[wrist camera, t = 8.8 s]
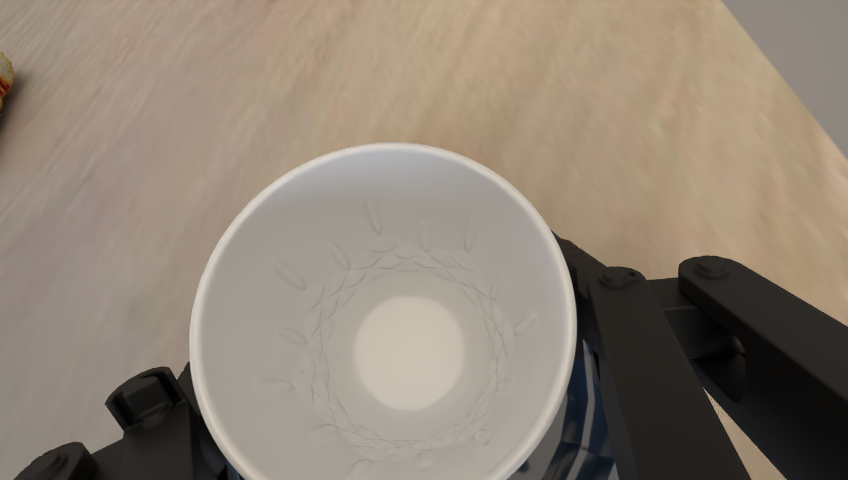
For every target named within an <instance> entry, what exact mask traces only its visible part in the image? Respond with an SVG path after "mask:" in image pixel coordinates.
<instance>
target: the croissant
mask: <svg viewBox="0 0 848 480" xmlns="http://www.w3.org/2000/svg"><path fill="white" fill-rule="evenodd" d="M13 75H14V71H13V67H12V64H11V62H10V61H9V60H8V59H7V58H6V56H5V55H4V53H3V52H1V51H0V110H1V108H2V98H3V97H5V96H6V95H7V94H8V93H9V92H10V90H11V86H12V82H13ZM0 116H1V114H0Z"/></svg>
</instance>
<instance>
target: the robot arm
mask: <svg viewBox="0 0 848 480" xmlns="http://www.w3.org/2000/svg"><path fill="white" fill-rule="evenodd" d="M555 239H556V241H557V243H558V245H559V247H560V249H561V251H562V254H563V256H564V259H565V261H566V264H567V267H568V270H569V274H570V277H571V281H572V286H573V290H574V296H575V303H576V314H577V340H576V350H575V357H574V360H576V359H579V358H583V357H584V346H583V340H584V341H585V342H586V343H587V344H588V345H589V346H590V347H591V348H592V353H593V365H594V378H595V385H598V387H599V391H600V396H601V400H602V405H603V409H604V414H605V418H606V423H607V428H608V432H609V437H610V441H611V446H612V450H613V455H614V460H615V464H616V469H617V473H618V478H619V480H751V478H750V476H749V474H748V472H747V470H746V469H745V467H744V465H743V463H742V461H741V459H740V457H739V455H738V453H737V451H736V450H735V448H734V446H733V444H732V442H731V440H730V438H729V436H728V434H727V432H726V431H725V429H724V427H723V425H722V423H721V421H720V419H719V417H718V415H717V413H716V412H715V410H714V408H713V406H712V404H711V402H710V400H709V398H708V396H707V394H706V393H705V391H704V389H705V390H706V391H707V392H708V393H709V394H710V395H711V396H712V398H713V399H714V400H715V401H716V402H717V403H718V404H719V405H720V406H721V407H722V409H723V410H724V411H725V412H726V413H727V414H728V415H729V416H730V417H731V419H732V420H733V421H734V422H735V423H736V424H737V425H738V426H739V427H740V428H741V430H742V431H743V432H744V433H745V434H746V435H747V436H748V437H749V438H750V439H751V441H752V442H753V443H754V444H755V445H756V446H757V447H758V448H759V449H760V451H761V452H762V453H763V454H764V455H765V456H766V457H767V458H768V459H769V460H770V462H771V463H772V464H773V465H774V466H775V467H776V468H777V469H778V470H779V471H780V473H781V474H782V475H783V476H784V477H785V478H786V479H787V480H848V327H847V326H846V325H844V324H842V323H841V322H839V321H837V320H835V319H834V318H832V317H830V316H829V315H827V314H825V313H824V312H822V311H820V310H818V309H817V308H815V307H813V306H812V305H810V304H808V303H807V302H805V301H803V300H801V299H800V298H798V297H796V296H795V295H793V294H791V293H790V292H788V291H786V290H785V289H783V288H781V287H779V286H778V285H776V284H774V283H773V282H771V281H769V280H768V279H766V278H764V277H762V276H761V275H759V274H757V273H756V272H754V271H752V270H751V269H749V268H747V267H745V266H744V265H742V264H740V263H738V262H736V261H733V260H731V259H727V258H722V257H719V256H701V257H693V258H690V259H687V260H684V261H683V262H682V263H680V264H679V269H678V277H677V278H666V279H656V280H646V279H645V277H644V276H643V275H642V274H641V273H640V272H638V271H636V270H634V269H631V268H626V267H606V266H605V265H603V264H602V263H600V262H599V261H598V260H596V259H595V258H593V257H592V256H590V255H589V254H586V252H585V251H583V250H582V249H580V248H578V247H577V246H576V245H575V244H573V243H572V242H570V241H568V240H565V239H561V238H557V237H555ZM703 388H704V389H703ZM105 405H106V407H107V408H108V409H109V411H110V412H111V414H112V415H113V416H114V418H115V419H116V421H117V422H118V424H119V425H120V426H121V428H122V429H123V431H124V435H123V439H121V440H119V441H117V442H115V443H113V444H111V445H109V446H107V447H105V448H103V449H101V450H99V451H97V452H95V453H93V454H90V453H89V451H88V450H87V449H86V447H85V446H84V445H83V444H82V443H80V442H72V443H68V444H65V445H62V446H60V447H57V448H55V449H53V450H50V451H48V452H46V453H44V454H43V455H42V456H39V457H38V458H36V459H35V460H34V461H32V462H31V464H30V465H29V466H27V467H26V468H25V469H24V470H23V471H21V472H20V473H19V475H18V476H17V477H16V478H15V479H14V480H234V478H233V474H232V472H231V471H230V469H229V467H228V466H227V464H226V460H227V459H226V457H225V456H224V455H223V453H222V452H221V450H220V449H219V447H218V446H217V444H216V443H215V441H214V439H213V437H212V436H211V434H210V432H209V430H208V428H207V426H206V424H205V421H204V419H203V417H202V414H201V411H200V408H199V406H198V402H197V399H196V395H195V391H194V387H193V382H192V377H191V370H190V362H188V363H187V365H186V366H185V368H184V371H183V372H182V373H181V374H180V376H179V378H178V379H177V380H176V378H175V376H174V375H173V373H172V371H171V369H170V368H168V367H157V368H152V369H150V370H147V371H144V372H142V373H140V374H138V375H136V376H134V377H132V378H131V379H129V380H127V381H126V382H125V383H123V384H122V385H120V386H119V387H118V388H117V389H116V390H115V391H114V392H113V393H112V394H111V395H110V396H109V397H108V399H107V401H106V402H105Z"/></svg>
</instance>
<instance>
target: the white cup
mask: <svg viewBox="0 0 848 480" xmlns="http://www.w3.org/2000/svg"><path fill="white" fill-rule="evenodd" d="M576 340H577V314H576V303H575V296H574V290H573V286H572V281H571V277H570V274H569V270H568V267H567V264H566V261H565V259H564V256H563V254H562V251H561V249H560V247H559V245H558V243H557V241H556V239H555V237H554V235H553V234H552V232H551V230H550V228H549V227H548V225H547V224H546V222H545V221H544V219H543V218H542V217H541V215H540V214H539V213H538V211H537V210H536V209H535V208H534V206H533V205H532V204H531V203H530V202H529V201H528V200H527V199H526V198H525V197H524V196H523V195H522V194H521V193H520V192H519V191H518V190H517V189H516V188H515V187H514V186H513V185H511V184H510V183H509V182H508V181H506V180H505V179H504V178H502V177H501V176H500V175H498V174H497V173H495V172H494V171H492V170H490V169H489V168H487V167H485V166H484V165H482V164H480V163H478V162H476V161H474V160H472V159H470V158H467V157H465V156H463V155H460V154H457V153H455V152H452V151H448V150H445V149H441V148H438V147H433V146H428V145H423V144H415V143H404V142H382V143H370V144H363V145H357V146H352V147H347V148H343V149H340V150H336V151H333V152H330V153H327V154H324V155H321V156H319V157H316V158H314V159H312V160H310V161H307V162H305V163H303V164H301V165H299V166H298V167H296V168H294V169H292V170H291V171H289V172H287V173H286V174H284V175H282V176H281V177H279V178H278V179H277V180H275V181H274V182H272V183H271V184H270V185H269V186H267V187H266V188H265V189H264V190H262V191H261V192H260V193H259V194H258V195H257V196H256V197H255V198H253V199H252V200H251V201H250V202H249V203H248V204H247V205H246V206H245V208H244V209H243V210H242V211H241V212H240V213H239V214H238V215H237V217H236V218H235V219H234V220H233V222H232V223H231V224H230V226H229V227H228V228H227V230H226V231H225V233H224V234H223V236H222V237H221V239H220V240H219V242H218V243H217V245H216V247H215V249H214V251H213V252H212V254H211V256H210V258H209V260H208V262H207V265H206V267H205V269H204V272H203V274H202V277H201V280H200V283H199V286H198V289H197V292H196V296H195V300H194V304H193V309H192V315H191V322H190V332H189V360H190V370H191V377H192V382H193V387H194V391H195V395H196V399H197V402H198V406H199V408H200V411H201V414H202V417H203V419H204V421H205V424H206V426H207V428H208V430H209V432H210V434H211V436H212V437H213V439H214V441H215V443H216V444H217V446H218V447H219V449H220V450H221V452H222V453H223V455H224V456H225V457H226V459H227V460H228V461H229V463H230V464H231V465H232V466H233V467H234V469H235V470H236V471H237V472H238V473H239V474H240V475H241V476H242V477H243V478H244V479H245V480H507V479H508V478H509V477H510V476H511V475H512V474H513V473H514V472H515V471H516V470H517V469H518V468H519V467H520V466H521V465H522V464H523V463H524V462H525V461H526V460H527V458H528V457H529V456H530V455H531V454H532V452H533V451H534V450H535V449H536V447H537V446H538V444H539V443H540V442H541V440H542V439H543V437H544V436H545V434H546V433H547V431H548V429H549V427H550V426H551V424H552V422H553V420H554V418H555V416H556V414H557V412H558V410H559V408H560V406H561V403H562V401H563V398H564V396H565V393H566V390H567V387H568V384H569V380H570V376H571V372H572V368H573V363H574V357H575V350H576Z"/></svg>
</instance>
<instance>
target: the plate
mask: <svg viewBox="0 0 848 480" xmlns="http://www.w3.org/2000/svg"><path fill="white" fill-rule="evenodd" d="M551 232H552V234H553V235H554V237H557V238H560V237H559V236H557V235H556V234H555V233H554V232H553V231H552V230H551ZM583 346H584V357H583V358H579V359H576V360H574V363H573V368H572V372H571V376H570V380H569V384H568V387H567V390H566V393H565V396H564V398H563V401H562V403H561V406H560V408H559V410H558V412H557V414H556V416H555V418H554V420H553V422H552V424H551V426H550V427H549V429H548V431H547V433H546V434H545V436H544V437H543V439H542V440H541V442H540V443H539V444H538V446H537V447H536V449H535V450H534V451H533V452H532V454H531V455H530V456H529V457H528V458H527V460H526V461H525V462H524V463H523V464H522V465H521V466H520V467H519V468H518V469H517V470H516V471H515V472H514V473H513V474H512V475H511V476H510V477H509V478H508V479H507V480H619V478H618V473H617V469H616V464H615V460H614V455H613V450H612V446H611V441H610V437H609V432H608V428H607V423H606V418H605V414H604V409H603V405H602V400H601V396H600V391H599V387H598V385H595V378H594V365H593V353H592V348H591V347H590V346H589V345H588V344H587V343H586V342H585V341H584V340H583ZM226 464H227V466H228V467H229V469H230V471H231V472H232V474H233V478H234V480H245V479H244V478H243V477H242V476H241V475H240V474H239V473H238V472H237V471H236V470H235V469H234V467H233V466H232V465H231V464H230V463H229V461H228V460H226Z"/></svg>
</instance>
